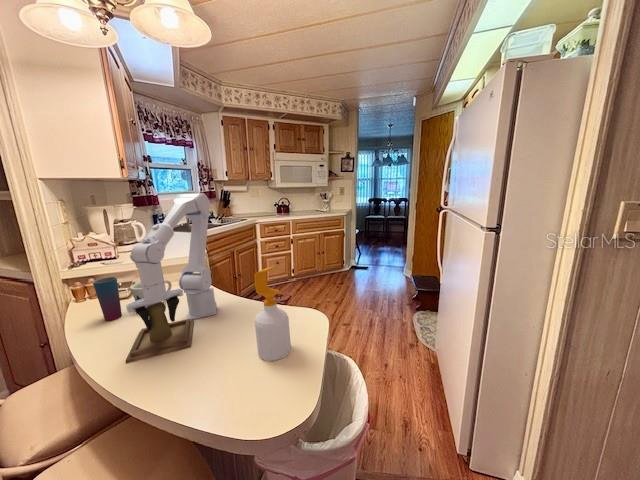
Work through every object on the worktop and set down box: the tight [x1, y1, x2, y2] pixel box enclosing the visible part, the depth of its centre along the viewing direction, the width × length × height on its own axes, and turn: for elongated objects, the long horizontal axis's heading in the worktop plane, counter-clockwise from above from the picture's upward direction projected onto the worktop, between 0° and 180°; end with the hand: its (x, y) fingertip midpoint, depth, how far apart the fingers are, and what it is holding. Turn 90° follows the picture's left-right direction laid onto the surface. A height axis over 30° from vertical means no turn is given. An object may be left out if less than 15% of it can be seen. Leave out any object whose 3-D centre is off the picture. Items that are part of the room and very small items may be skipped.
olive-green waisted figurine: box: [146, 301, 172, 342], centre depth 81 cm, size 6×6×11 cm
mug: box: [129, 279, 172, 308], centre depth 106 cm, size 10×15×10 cm
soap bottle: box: [253, 265, 292, 362], centre depth 71 cm, size 9×9×25 cm
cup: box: [92, 275, 123, 322], centre depth 97 cm, size 7×7×15 cm
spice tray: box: [125, 318, 195, 364], centre depth 82 cm, size 16×16×2 cm
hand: (161, 324), depth 81 cm, fingers open, 6 cm apart
